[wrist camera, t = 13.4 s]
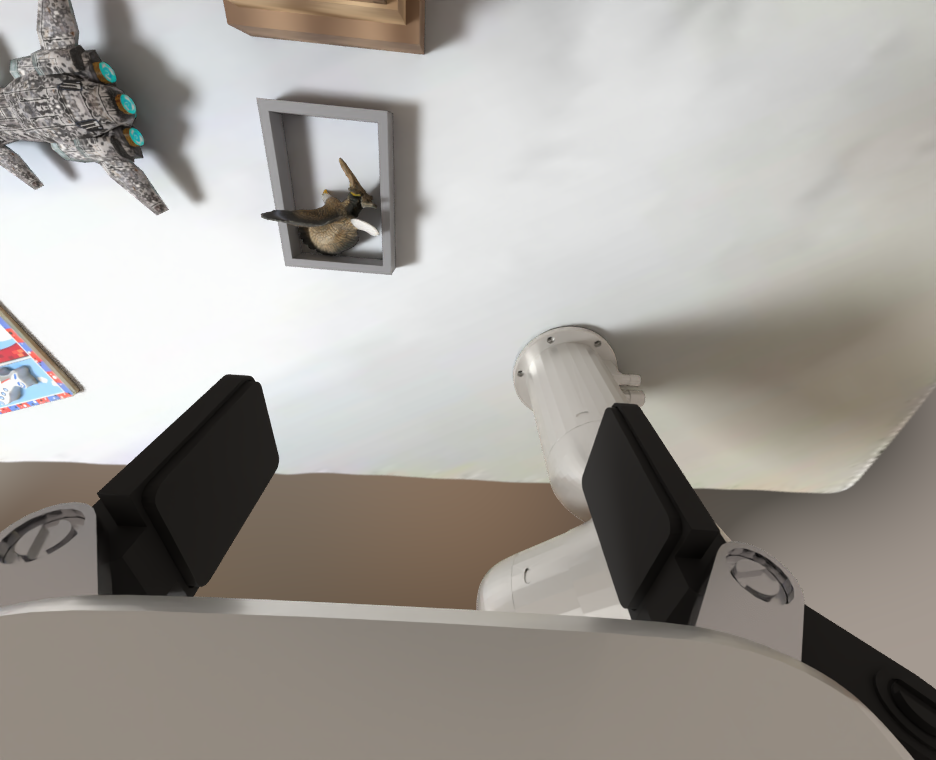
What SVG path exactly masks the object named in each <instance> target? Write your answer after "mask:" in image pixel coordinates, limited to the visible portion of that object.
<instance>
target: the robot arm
mask: <svg viewBox="0 0 936 760" xmlns="http://www.w3.org/2000/svg"><path fill="white" fill-rule="evenodd" d="M549 337H551V338H550V339H548V338H549ZM595 341H597V342H595ZM513 381H514V387H515V390H516V393H517V395H518V397H519V398H520V400H521V402H522V403H523V404H524V405H525V406H526V407H528V408H529V409H530V410H532V411H533V413H534V417H535V421H536V425H537V430H538V434H539V438H540V442H541V446H542V451H543V455H544V459H545V463H546V468H547V472H548V476H549V480H550V484H551V487H552V489H553V491H554V493H555V495H556V497H557V498H558V499H559V501H560V502H561V503H562V504H563V505H564V507H565V508H566V509H568V510H569V511H570V512H571V513H572V514H573V515H575V516H576V517H577V518H579V519H581V520H582V521H584V522H585V523H584V524H582V525H580V526H578V527H575V528H573V529H571V530H569V531H568V532H567V533H564V534H562V535H559V536H557V537H555V538H552V539H550V540H548V541H545V542H543V543H540V544H538V545H536V546H533V547H531V548H528V549H527V550H524V551H522V552H519V553H517V554H514V555H512V556H510V557H508V558H506V559H504V560H502V561H500V562H499V563H497V564H496V565H495V566H494V567H493V568H491V569H490V570H489V571H488V572H487V574H486V575H485V576H484V578H483V580H482V582H481V584H480V587H479V591H478V597H477V610H463V609H462V610H461V609H442V608H423V607H405V606H404V607H403V606H385V605H364V604H345V603H323V602H302V601H300V602H299V601H279V600H258V599H236V598H214V597H213V598H212V597H193V596H194V595H195V593H196V592H197V590H198V588H199V587H202V586H204V585H206V584H207V583H208V582H209V580H210V579H211V577H212V575H213V574H214V572H215V571H216V569H217V567H218V566H219V564H220V562H221V561H222V559H223V557H224V555H225V554H226V552H227V551H228V549H229V547H230V546H231V544H232V543H233V541H234V539H235V537H236V536H237V534H238V533H239V531H240V529H241V527H242V526H243V524H244V522H245V521H246V519H247V518H248V516H249V514H250V513H251V511H252V509H253V508H254V506H255V504H256V503H257V501H258V500H259V498H260V496H261V495H262V493H263V491H264V490H265V488H266V486H267V485H268V483H269V481H270V479H271V478H272V476H273V475H274V473H275V471H276V470H277V467H278V464H279V455H278V451H277V447H276V443H275V439H274V435H273V431H272V427H271V423H270V419H269V415H268V411H267V407H266V403H265V399H264V394H263V390H262V387H261V384H260V383H259V382H255V380H254V378H253V377H251V376H245V375H231V374H228V375H225V376H223V377H222V378H221V379H220V380H219V381H218V382H217V383H216V384H215V385H214V386H213V387H211V388H210V389H209V390H208V391H207V392H206V393H205V394H204V395H203V396H202V397H201V398H200V399H198V400H197V401H196V402H195V403H194V404H193V405H192V406H191V407H190V408H189V409H188V410H187V411H185V412H184V413H183V414H182V415H181V416H180V417H179V418H178V419H177V420H176V421H175V422H174V423H172V424H171V425H170V426H169V427H168V428H167V429H166V430H165V431H164V432H163V433H162V434H161V435H159V436H158V437H157V438H156V439H155V440H154V441H153V442H152V443H151V444H150V445H149V446H148V447H146V448H145V449H144V450H143V451H142V452H141V453H140V454H139V455H138V456H137V457H136V458H135V459H133V460H132V461H131V462H130V463H129V464H128V465H127V466H126V467H125V468H124V469H123V470H122V471H120V472H119V473H118V474H117V475H116V476H115V477H114V478H113V479H112V480H111V481H110V482H109V483H107V484H106V485H105V486H104V487H103V488H102V489H101V490H100V491H99V492H98V493H97V494H98V496H99V498H100V500H99V501H98V502H97V503H96V504H94V505H93V506H92V507H91V506H89V505H88V504H83V503H77V502H73V503H64V504H58V505H54V506H51V507H47V508H44V509H41V510H39V511H37V512H34V513H32V514H29V515H27V516H25V517H24V518H22V519H20V520H18V521H17V522H15V523H13V524H11V525H10V526H9V527H8V528H6V529H5V530H3V531H2V532H1V533H0V760H936V689H935V688H933V687H932V686H931V685H929V684H928V683H926V682H925V681H924V680H922V679H921V678H920V677H918V676H917V675H915V674H914V673H912V672H911V671H909V670H907V669H906V668H904V667H903V666H901V665H899V664H898V663H896V662H895V661H893V660H892V659H890V658H888V657H887V656H885V655H884V654H882V653H881V652H879V651H877V650H876V649H874V648H872V647H871V646H870V645H868V644H866V643H865V642H863V641H861V640H860V639H858V638H857V637H855V636H854V635H852V634H851V633H849V632H847V631H846V630H844V629H843V628H841V627H839V626H837V625H836V624H835V623H833V622H832V621H830V620H828V619H827V618H825V617H824V616H822V615H820V614H819V613H817V612H816V611H814V610H812V609H811V608H809V607H808V606H806V605H805V604H804V595H803V591H802V588H801V587H800V585H799V583H798V581H797V579H796V578H795V577H794V576H793V574H792V573H791V572H790V571H789V570H788V569H787V568H786V567H785V566H784V565H783V564H782V563H781V562H780V561H778V560H777V559H776V558H775V557H773V556H772V555H770V554H769V553H767V552H765V551H764V550H762V549H760V548H757V547H755V546H753V545H751V544H747V543H742V542H732V541H731V540H730V539H729V538H728V536H727V535H726V534H725V533H724V532H723V531H722V530H721V529H720V527H719V526H718V525H717V524H716V523H715V522H714V520H713V519H712V517H711V516H710V514H709V513H708V511H707V510H706V508H705V507H704V505H703V504H702V502H701V501H700V499H699V497H698V496H697V494H696V493H695V491H694V490H693V488H692V487H691V485H690V484H689V482H688V481H687V479H686V477H685V476H684V474H683V473H682V471H681V470H680V468H679V467H678V465H677V464H676V462H675V461H674V459H673V457H672V456H671V454H670V453H669V451H668V450H667V448H666V447H665V445H664V444H663V442H662V441H661V439H660V438H659V436H658V434H657V433H656V431H655V430H654V428H653V427H652V425H651V424H650V422H649V421H648V419H647V418H646V416H645V415H644V413H643V411H642V410H641V408H640V407H641V406H643V405H644V403H645V394H644V392H643V391H635V390H626V391H625V390H621V389H620V387H619V386H620V385H627V386H639V385H640V383H641V377H640V375H634V374H621V372H619V371H618V369H617V359H616V356H615V353H614V351H613V350H612V348H611V346H610V345H609V344H608V343H607V341H606V340H605V339H604V338H603V337H601V336H600V335H599V334H597V333H595V332H593V331H591V330H589V329H585V328H581V327H560V328H556V329H552V330H549V331H547V332H545V333H543V334H540V335H539V336H537V337H536V338H534V339H533V340H531V341H530V342H529V343H528V344H527V345H526V346H525V347H524V349H523V350H522V351H521V353H520V354H519V356H518V358H517V360H516V362H515V366H514V370H513Z"/></svg>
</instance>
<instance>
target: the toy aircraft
mask: <svg viewBox="0 0 936 760" xmlns="http://www.w3.org/2000/svg"><path fill="white" fill-rule="evenodd" d="M36 30H37V34H38V38H39V42H40V46H41V49H40V50H38V51H36V52H34V53H32V54H31V56H26V57H22V58H18V59H14V60H10V71H9V72H10V73H11V74H12V76H13V77H14V80H13V81H11V82H10V83H9V84H8V85H7V86H6V87H5V88H0V165H1V166H2V167H4V168H5V169H7V170H8V171H9V172H11V173H12V174H14V175H15V176H16V177H18V178H19V179H21V180H22V181H23V182H25V183H26V184H28V185H29V186H30V187H32V188H33V189H35V190H36V189H38V188H40V187H42V186H44V185H43V183H42V182H41V181H40V180H39V179H38V177H37V176H36V175H35V174H34V173H33V171H32V170H31V169H30V168H29V167H28V165H27V164H26V163H25V162H24V161H23V160H22V158H21V157H20V156H19V155H18V154H17V153H15V152H14V151H13V150H11V149H10V148H8V147H7V146H6V144H9V143H12V142H15V141H19V140H26V141H36V142H49V143H50V144H51V147H52V149H53V150H54V151H55V152H56V153H57V154H59V155H60V156H61V157H62V158H63V159H65V160H71V161H77V162H84V163H86V162H96V163H98V164H100V165H101V166H102V167H103V168H104V170H105V171H106V172H107V173H108V175H109V176H110V177H111V178H112V179H113V180H115V181H116V182H117V183H118V184H119V185H121V186H122V187H123V188H124V189H126V190H127V191H128V192H129V193H130V194H132V195H133V196H134V197H135V198H137V199H138V200H139V201H140V202H141V203H143V204H144V205H145V206H146V207H147V208H149V209H150V210H151V211H152V212H154V213H155V214H156V215H159V214H161V213H163V212H165V211H167V210H169V209H168V208H167V206H166V205H165V203H164V202H163V200H162V199H161V197H160V196H159V194H158V193H157V191H156V190H155V189H154V187H153V186H152V184H151V183H150V181H149V180H148V178H147V177H146V175H145V174H144V172H143V171H142V170H141V169H140V168H139V167H137V166H136V165H135V164H134V163H133V162H134V159H137V158H143V155H142V151H141V148H140V146H142V145H143V144H144V139H143V137H142V134H141V133H140V132H139V131H138V130H137V129H135V128H134V127H133V126H132V124H133V122H134V119H135V118H136V116H137V114H136V106H135V104H134V102H133V101H132V99H131V98H130V97H129V96H128V95H126V94H125V93H124V92H122V91H121V90H119V89H118V88H116V85H115V83H114V82H116V75H115V73H114V71H113V69H112V68H111V67H110V66H109V65H108V64H107V63H105V62H102V61H101V60H100V58H99V56H98V55H97V53H96V51H95V50H87V51H85V50H84V49H83V48H82V47H81V45H78V39H79V30H78V26H77V22H76V19H75V15H74V11H73V8H72V4H71V0H39V1H38V15H37V29H36Z"/></svg>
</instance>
